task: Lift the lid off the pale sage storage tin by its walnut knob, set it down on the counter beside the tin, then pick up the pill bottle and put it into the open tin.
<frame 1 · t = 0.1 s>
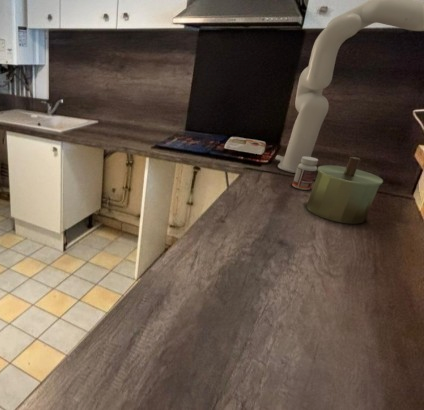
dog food: (244, 150, 182), on the table
pill bottle: (300, 187, 134), on the table
tin lid: (348, 175, 109), point 12 cm above the table, touching tin
tin: (334, 212, 114), on the table
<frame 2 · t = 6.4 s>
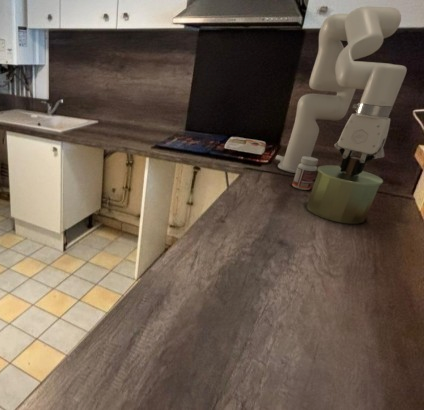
hand: (349, 172, 108), 14 cm above the table, tool pointing down, fingers closed on tin lid, 2 cm apart
tin lid: (348, 175, 109), point 13 cm above the table, touching gripper, tin
everything else where it was.
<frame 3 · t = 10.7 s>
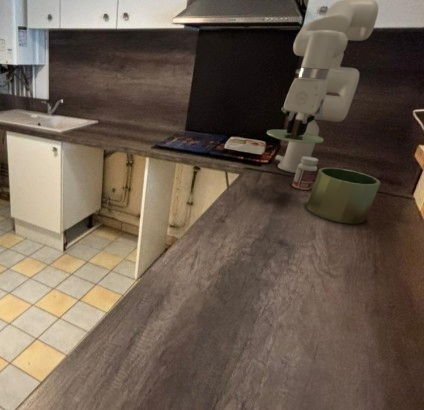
hand: (295, 133, 117), 22 cm above the table, tool pointing down, fingers closed on tin lid, 2 cm apart
tin lid: (294, 136, 118), point 21 cm above the table, touching gripper
everything else where it was.
when the fingers open (2 cm above the table, at t = 15.1 s): tin lid stays where it is, point 1 cm above the table.
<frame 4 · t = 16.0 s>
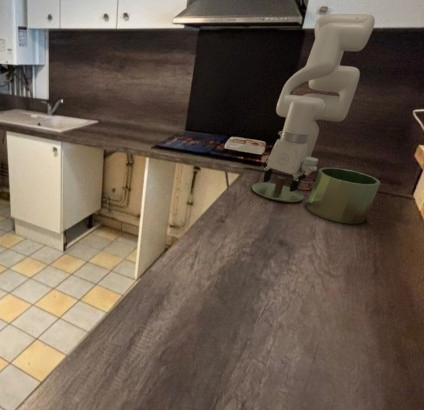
hand: (279, 186, 125), 3 cm above the table, tool pointing down, fingers open, 9 cm apart
tin lid: (277, 192, 126), point 1 cm above the table
everything else where it was.
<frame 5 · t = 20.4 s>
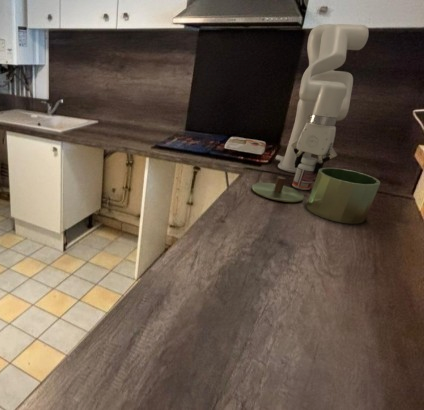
hand: (306, 169, 131), 7 cm above the table, tool pointing down, fingers closed on pill bottle, 6 cm apart
pill bottle: (300, 187, 134), on the table, touching gripper
everything else where it was.
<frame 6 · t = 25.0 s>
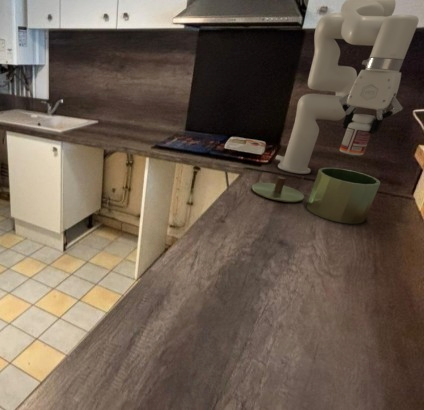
hand: (359, 130, 106), 26 cm above the table, tool pointing down, fingers closed on pill bottle, 6 cm apart
pill bottle: (350, 153, 109), point 19 cm above the table, touching gripper
everything else where it was.
when the fingers open (8 cm above the table, at t = 29.8 s): pill bottle stays where it is, resting on tin.
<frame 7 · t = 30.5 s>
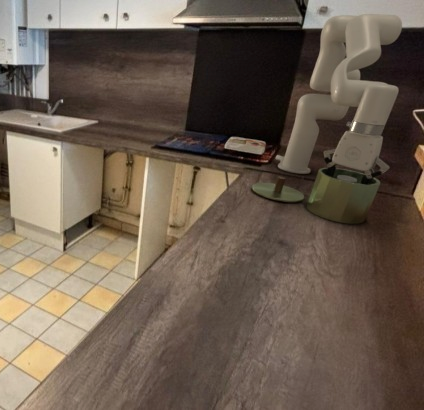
hand: (344, 184, 110), 10 cm above the table, tool pointing down, fingers open, 9 cm apart
pill bottle: (334, 211, 114), resting on tin
everything else where it was.
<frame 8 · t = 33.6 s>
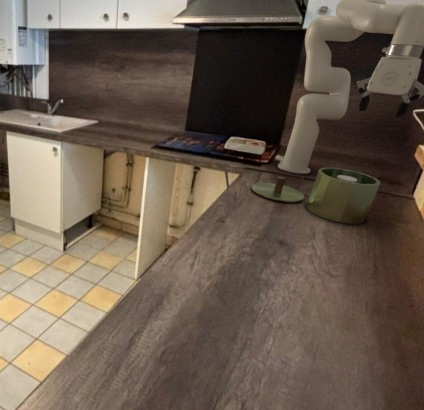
hand: (380, 113, 109), 30 cm above the table, tool pointing down, fingers open, 9 cm apart
nothing on the table moved.
at the end: tin lid inside the target area (0.1 cm from its centre), point 0.6 cm above the table; pill bottle inside the target area in the tin (0.1 cm from its centre), point 0.3 cm above the tin's base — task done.
